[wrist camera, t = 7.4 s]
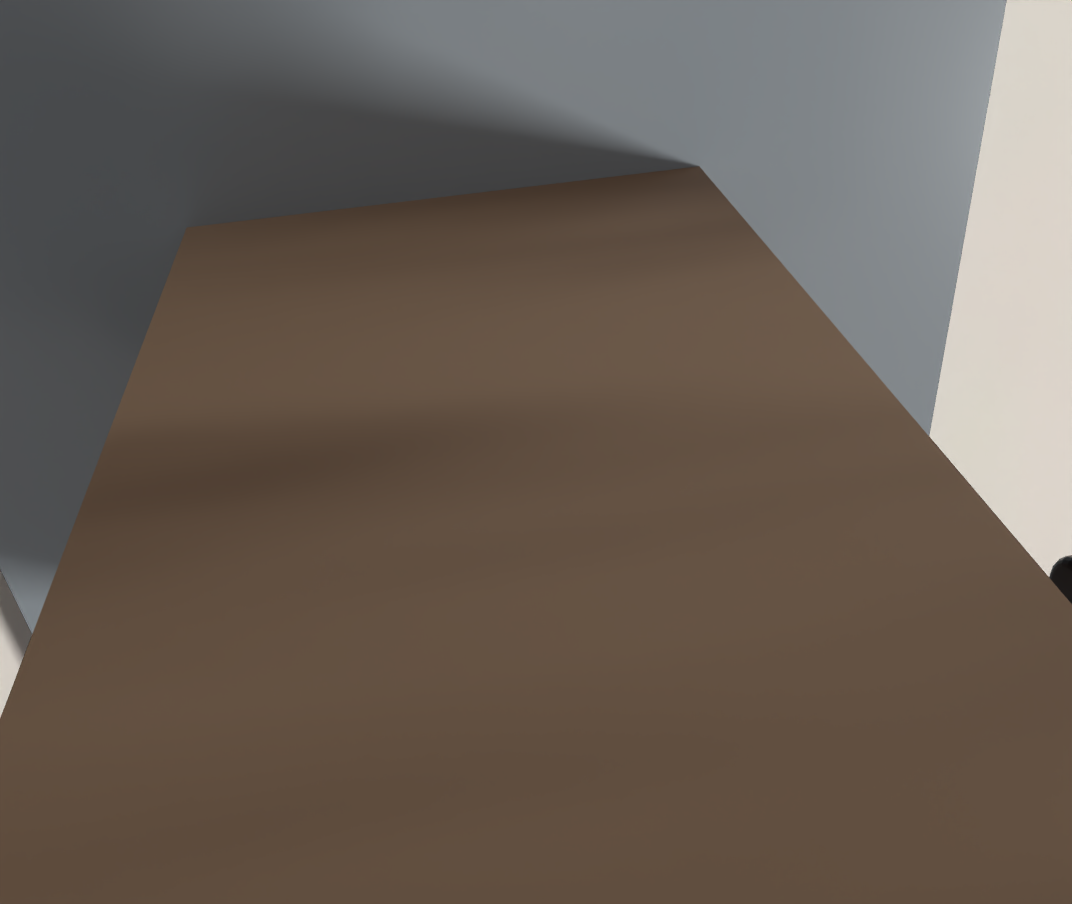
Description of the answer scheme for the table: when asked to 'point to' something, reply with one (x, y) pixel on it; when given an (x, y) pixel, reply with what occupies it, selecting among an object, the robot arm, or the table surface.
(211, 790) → the walnut block
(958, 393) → the table surface
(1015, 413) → the table surface
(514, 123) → the coaster
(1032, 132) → the table surface
